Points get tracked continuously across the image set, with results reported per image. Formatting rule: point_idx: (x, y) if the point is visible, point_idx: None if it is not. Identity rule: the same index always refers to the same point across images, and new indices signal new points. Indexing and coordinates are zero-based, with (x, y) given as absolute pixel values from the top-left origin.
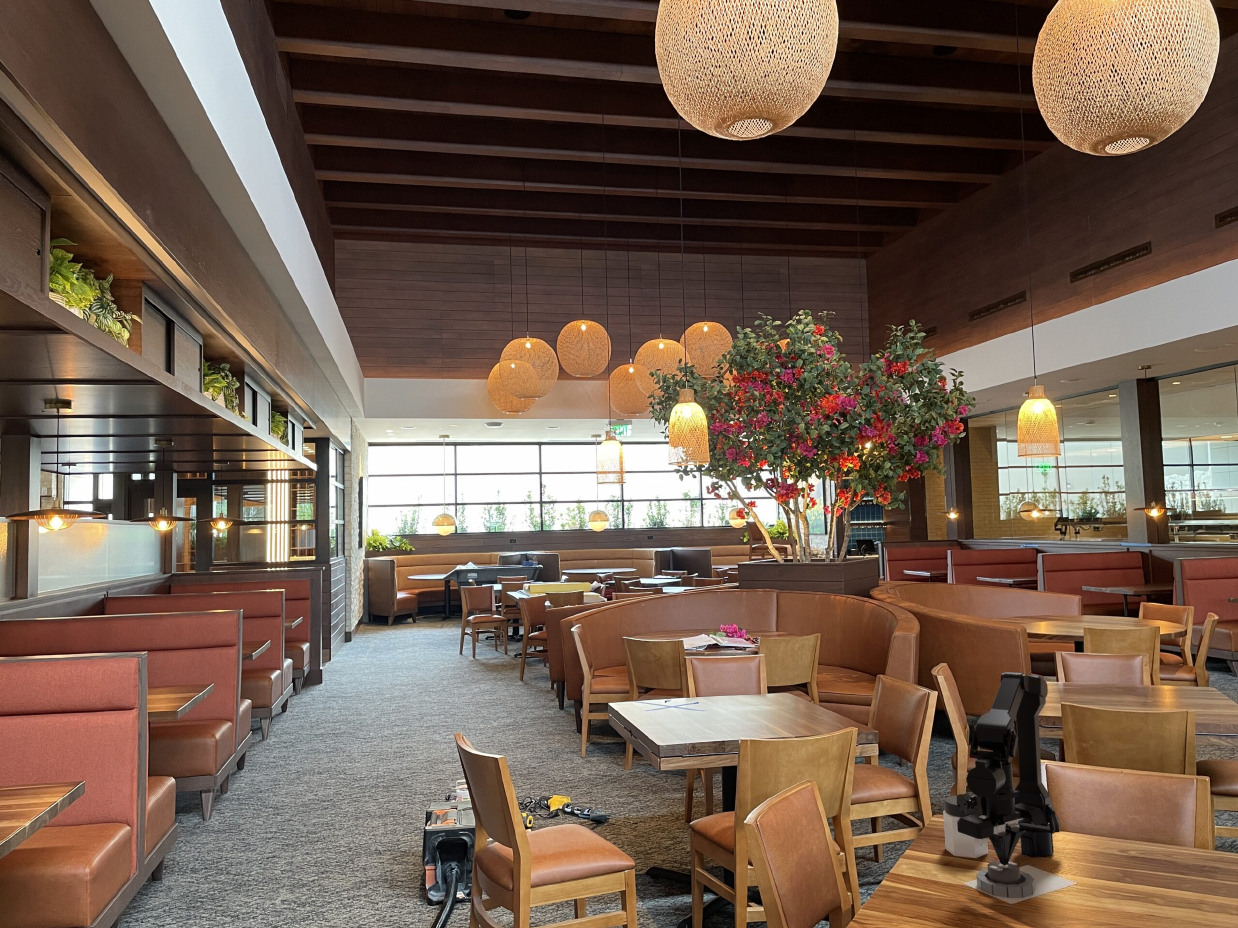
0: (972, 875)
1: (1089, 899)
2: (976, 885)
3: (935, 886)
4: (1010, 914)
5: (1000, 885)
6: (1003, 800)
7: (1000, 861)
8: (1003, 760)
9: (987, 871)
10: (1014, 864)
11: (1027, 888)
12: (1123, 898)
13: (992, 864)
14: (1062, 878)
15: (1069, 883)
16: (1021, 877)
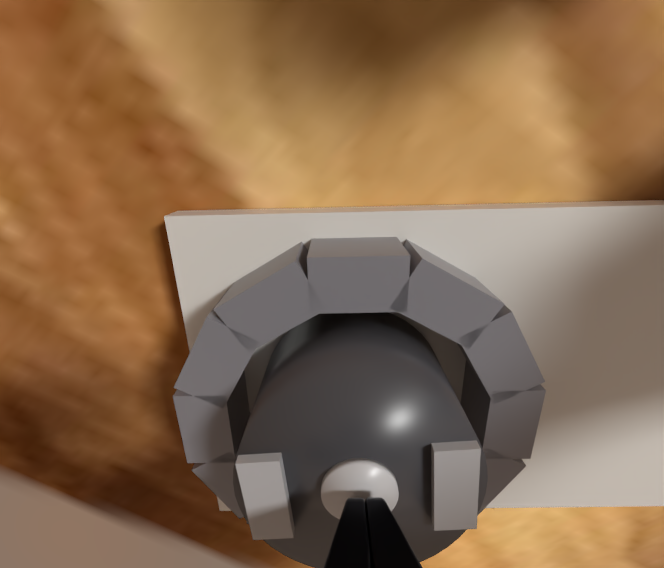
0: (401, 62)
1: (575, 555)
2: (225, 285)
3: (18, 83)
4: (184, 514)
5: (229, 490)
6: None
7: (342, 518)
8: None
9: (339, 302)
10: (444, 525)
11: None
12: None
13: (322, 417)
14: None
15: (660, 488)
16: (474, 431)
